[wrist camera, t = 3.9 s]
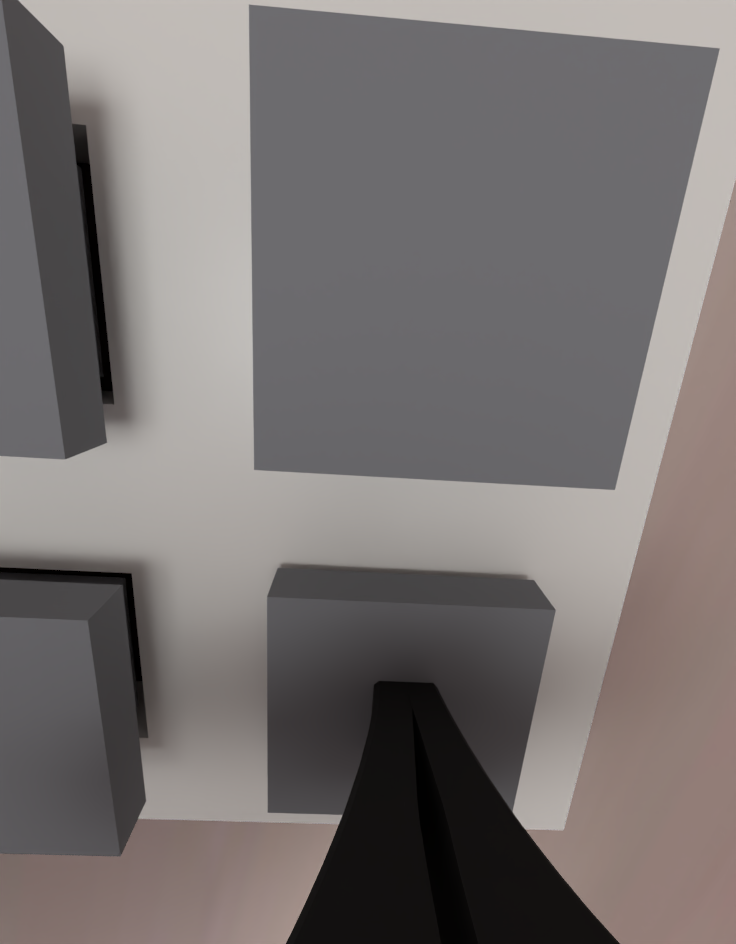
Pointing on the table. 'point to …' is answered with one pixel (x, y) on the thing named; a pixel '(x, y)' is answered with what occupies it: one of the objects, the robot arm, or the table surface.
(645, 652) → the table surface
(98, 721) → the button
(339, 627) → the button
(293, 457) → the button
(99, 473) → the button board
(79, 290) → the button
